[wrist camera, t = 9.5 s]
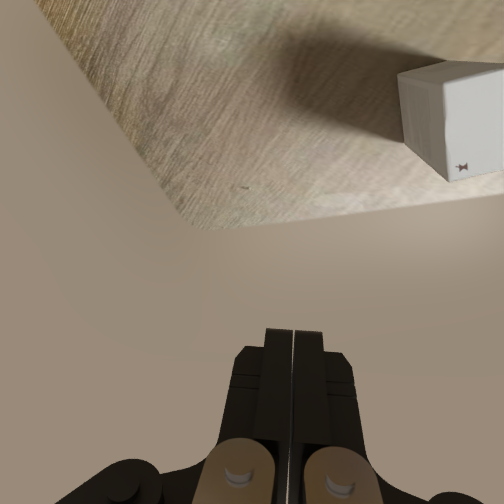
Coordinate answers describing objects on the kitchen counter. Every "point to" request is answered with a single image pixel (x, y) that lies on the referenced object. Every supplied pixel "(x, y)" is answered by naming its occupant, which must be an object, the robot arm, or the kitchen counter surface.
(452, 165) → the skincare box
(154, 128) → the kitchen counter surface
